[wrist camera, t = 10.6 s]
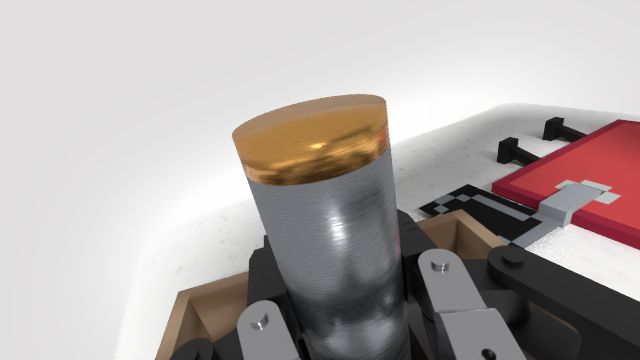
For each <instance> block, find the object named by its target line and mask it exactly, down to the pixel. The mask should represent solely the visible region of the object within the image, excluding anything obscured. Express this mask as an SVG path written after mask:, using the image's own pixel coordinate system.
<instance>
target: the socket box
mask: <svg viewBox="0 0 640 360" xmlns="http://www.w3.org/2000/svg"><path fill="white" fill-rule="evenodd" d="M416 223H417V225H418V226H419V227H420V228H421V229H422V230H423V231H424V232H425V233H426V234H427V236H428V237H429V238H430V239H431V240H432V241H433V242H434V243H435V244H436V245H437V246H438V248H439V249H445V250H448V251H451V252H453V253H455V254H456V255H457V256H458V257H459V258H460V259H487V256H488V252H489V251H490V250H491V249H492V248H494V247H497V246H502V245H507V244H506V243H505V242H503V241H502V240H501V239H499V238H498V237H497V236H496V235H494V234H493V233H492V232H490V231H489V230H488V229H487V228H485V227H484V226H483V225H481V224H480V223H479V222H478V221H476V220H475V219H474V218H472V217H471V216H470V215H469V214H467V213H466V212H465V211H463V210H462V209H460V210H457V211H453V212H450V213H446V214H443V215H439V216H436V217H433V218H429V219H426V220H422V221H419V222H416ZM248 274H249V271H248V272H245V273H241V274H238V275H234V276H231V277H228V278H224V279H221V280H217V281H214V282H211V283H207V284H204V285H200V286H197V287H194V288H190V289H187V290H183V291H180V292H178V295H177V298H176V300H175V303H174V306H173V309H172V312H171V315H170V318H169V321H168V324H167V326H166V329H165V332H164V335H163V338H162V341H161V344H160V347H159V349H158V352H157V355H156V358H155V360H169V359H170V357H171V356H172V355H173V354H174V352H175V351H176V350H177V349H178V348H179V347H181V346H182V345H183V344H185V343H186V342H188V341H190V340H192V339H196V338H206V339H208V340H210V342H211V343H214V342H215V341H217V340H219V339H220V338H222V337H223V336H225V335H227V334H228V333H230V332H231V331H232V330H234V329H235V328H236V327H237V323H238V319H239V317H240V316H241V314H242V313H243V311H244V310H245V309H246V308H247V292H248V279H249V277H248ZM533 306H534V307H535V308H537V309H539V310H540V311H542V312H544V313H545V314H547V315H549V316H550V317H552V318H554V319H555V320H557V321H559V322H561V323H562V324H564V325H566V326H567V327H569V328H571V329H572V330H574V331H576V332H577V333H578V331H577V330H576V329H575V328H574V327H572V326H571V325H570V324H568V323H567V322H565V321H563V320H561V319H560V318H558V317H556V316H555V315H553V314H551V313H549V312H548V311H546V310H544V309H543V308H541V307H539V306H538V305H536V304H534V303H533ZM406 308H407V318H408V328H409V338H410V348H411V358H412V360H434V357H433V354H432V350H431V347H430V343H429V340H428V337H427V333H426V330H425V326H424V323H423V319H422V312H421V308H420V306H419V304H418V303H414V304H411V305H408V303H407V301H406ZM296 344H297V353H298V355H299V357H300V359H301V360H311V357H310V354H309V352H308V349H307V346H306V343H305V340H304V338H303V339H300V340H296ZM520 349H521V348H520ZM521 351H522V353H523V354H524V356H525V358H526V359H527V360H537V359H535V358H534V357H532V356H531V355H530V354H528V353H527V352H526V351H524V350H523V349H521Z"/></svg>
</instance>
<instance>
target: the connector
mask: <svg viewBox="0 0 640 360" xmlns="http://www.w3.org/2000/svg"><path fill="white" fill-rule="evenodd" d="M232 138H233V141H234V143H235V146H236V149H237V152H238V155H239V158H240V160H241V163H242V166H243V169H244V172H245V174H246V177H247V180H248V183H249V186H250V188H251V191H252V194H253V197H254V200H255V203H256V205H257V208H258V211H259V214H260V217H261V219H262V222H263V225H264V228H265V231H266V234H267V236H268V239H269V242H270V245H271V248H272V250H273V253H274V256H275V259H276V262H277V264H278V267H279V270H280V273H281V276H282V279H283V281H284V284H285V286H286V288H287V291H288V294H289V296H290V299H291V302H292V305H293V308H294V311H295V313H296V316H297V319H298V322H299V325H300V328H301V330H302V335H303V338H304V340H305V343H306V346H307V349H308V352H309V354H310V357H311V360H412V358H411V348H410V338H409V328H408V318H407V308H406V298H405V288H404V278H403V268H402V258H401V248H400V238H399V228H398V218H397V208H396V198H395V188H394V178H393V168H392V158H391V148H390V138H389V128H388V118H387V108H386V101H385V100H384V99H383V98H382V97H379V96H375V95H366V94H353V95H342V96H332V97H326V98H320V99H315V100H310V101H306V102H301V103H297V104H293V105H289V106H286V107H283V108H279V109H276V110H273V111H270V112H267V113H265V114H262V115H260V116H257V117H255V118H253V119H251V120H249V121H247V122H245V123H243V124H242V125H240V126H239V127H238V128H236V129H235V130H234V132H233V133H232Z"/></svg>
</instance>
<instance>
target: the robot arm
mask: <svg viewBox="0 0 640 360" xmlns="http://www.w3.org/2000/svg"><path fill="white" fill-rule="evenodd" d="M397 218H398V228H399V238H400V248H401V258H402V268H403V278H404V288H405V298H406V301H407V303H408V305H411V304H414V303H418V304H419V306H420V308H421V312H422V319H423V323H424V326H425V330H426V333H427V337H428V340H429V343H430V347H431V350H432V354H433V357H434V360H527V359H526V358H525V356H524V354H523V353H522V351H521V349H523V350H524V351H526V352H527V353H528V354H530V355H531V356H532V357H534V358H535V359H537V360H640V302H639V301H637V300H635V299H632V298H630V297H628V296H626V295H624V294H621V293H619V292H617V291H615V290H613V289H610V288H608V287H606V286H604V285H602V284H599V283H597V282H595V281H593V280H591V279H588V278H586V277H584V276H582V275H580V274H577V273H575V272H573V271H571V270H569V269H567V268H564V267H562V266H560V265H558V264H556V263H553V262H551V261H549V260H547V259H545V258H542V257H540V256H538V255H536V254H534V253H531V252H529V251H527V250H525V249H522V248H519V247H516V246H509V245H502V246H497V247H494V248H492V249H491V250H490V251H489V252H488V256H487V259H460V258H459V257H458V256H457V255H456V254H455V253H453V252H451V251H448V250H445V249H439V248H438V246H437V245H436V244H435V243H434V242H433V241H432V240H431V239H430V238H429V237H428V236H427V234H426V233H425V232H424V231H423V230H422V229H421V228H420V227H419V226H418V225H417V223H416V222H414V220H413V219H412V218H411V217H410V216H409V215H408V214H407V213H405V212H403V211H401V210H398V209H397ZM248 277H249V279H248V292H247V308H246V309H245V310H244V311H243V313H242V314H241V316H240V317H239V319H238V323H237V327H236V328H235V329H234V330H232V331H231V332H230V333H228V334H227V335H225V336H223V337H222V338H220V339H219V340H217V341H215V342H214V343H211V342H210V340H208V339H206V338H196V339H192V340H190V341H188V342H186V343H185V344H183V345H182V346H181V347H179V348H178V349H177V350H176V351H175V352H174V354H173V355H172V356H171V357H170V359H169V360H301V359H300V357H299V355H298V353H297V344H296V340H300V339H303V335H302V330H301V328H300V325H299V322H298V319H297V316H296V313H295V311H294V308H293V305H292V302H291V299H290V296H289V294H288V291H287V288H286V286H285V284H284V281H283V279H282V276H281V273H280V270H279V267H278V264H277V262H276V259H275V256H274V253H273V250H272V248H271V245H270V242H269V239H268V236H267V235H264V248H260V249H257V250H254V252H253V254H252V256H251V258H250V259H249V274H248ZM533 303H534V304H536V305H538V306H539V307H541V308H543V309H544V310H546V311H548V312H549V313H551V314H553V315H555V316H556V317H558V318H560V319H561V320H563V321H565V322H567V323H568V324H570V325H571V326H572V327H574V328H575V329H576V330H577V331H578V333H577V332H576V331H574V330H572V329H571V328H569V327H567V326H566V325H564V324H562V323H561V322H559V321H557V320H555V319H554V318H552V317H550V316H549V315H547V314H545V313H544V312H542V311H540V310H539V309H537V308H535V307H534V306H533ZM520 348H521V349H520Z"/></svg>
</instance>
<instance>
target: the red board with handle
mask: <svg viewBox="0 0 640 360" xmlns="http://www.w3.org/2000/svg"><path fill="white" fill-rule="evenodd" d="M563 121H564V118H559V117H554V118H552V119H550V120H548V121H546V124H545V129H544V134H543V140H548V141H552V140H554V139H556V138H558V137H562V138H565V139H567V140H569V141H572V142H573V143H571V144H569V145H567V146H565V147H563V148H561V149H559V150H557V151H555V152H553V153H551V154H549V155H547V156H545V157H543V158H539V157H537V156H535V155H533V154H531V153H529V152H527V151H525V150H523V149H521V148H519V147H517V146H518V140H519V139H517V138H512V137H509V138H507V139H505V140H502V141H500V142H499V148H498V156H497V162H498V163H502V164H506V163H508V162H510V161H512V160H514V159H515V160H517V161H519V162H521V163H523V164H524V165H526V167H524V168H522V169H520V170H518V171H516V172H514V173H512V174H510V175H508V176H506V177H504V178H502V179H500V180H498V181H496V182H494V183H492V191H491V192H494V193H496V194H499V195H501V196H504V197H506V198H509V199H511V200H514V201H516V202H519V203H521V204H524V205H526V206H529V207H531V208H534V209H536V210H538V212H536V211H534V210H531V209H529V208H526V207H524V206H521V205H519V204H516V203H514V202H511V201H509V200H506V199H504V198H501V197H499V196H496V195H494V194H492V193H489V192H487V191H484V190H482V189H479V188H477V187H474V186H472V185H469V184H467V185H465V186H463V187H461V188H459V189H457V190H455V191H453V192H451V193H449V194H447V195H445V196H443V197H441V198H439V199H437V200H435V201H432V202H430V203H428V204H426V205H424V206H422V207H420V208H419V209H421V210H422V211H424V212H426V213H427V214H429V215H431V216H433V217H436V216H439V215H443V214H446V213H450V212H453V211H457V210H460V209H462V210H463V211H465V212H466V213H467V214H469V215H470V216H471V217H472V218H474V219H475V220H476V221H478V222H479V223H480V224H481V225H483V226H484V227H485V228H487V229H488V230H489V231H490V232H492V233H493V234H494V235H496V236H497V237H498V238H499V239H501V240H502V241H503V242H505V243H506V244H507V245H509V246H516V247H519V248H522V249H524V248H526V247H528V246H529V245H531V244H532V243H534V242H535V241H537V240H538V239H540V238H541V237H543V236H544V235H546V234H548V233H549V232H551V231H552V230H554V229H555V228H557V227H561V228H564V227H565V226H567V225H568V224H570V223H572V224H574V225H577V226H579V227H582V228H584V229H587V230H589V231H592V232H594V233H597V234H599V235H602V236H605V237H607V238H610V239H612V240H615V241H618V242H620V243H623V244H626V245H628V246H631V247H633V248H636V249H639V250H640V122H636V121H627V120H619V119H618V120H616V121H614V122H612V123H610V124H608V125H606V126H604V127H603V128H601V129H599V130H597V131H595V132H593V133H591V134H589V135H586V134H584V133H581V132H579V131H576V130H574V129H571V128H569V127H566V126H564V125H563Z"/></svg>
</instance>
